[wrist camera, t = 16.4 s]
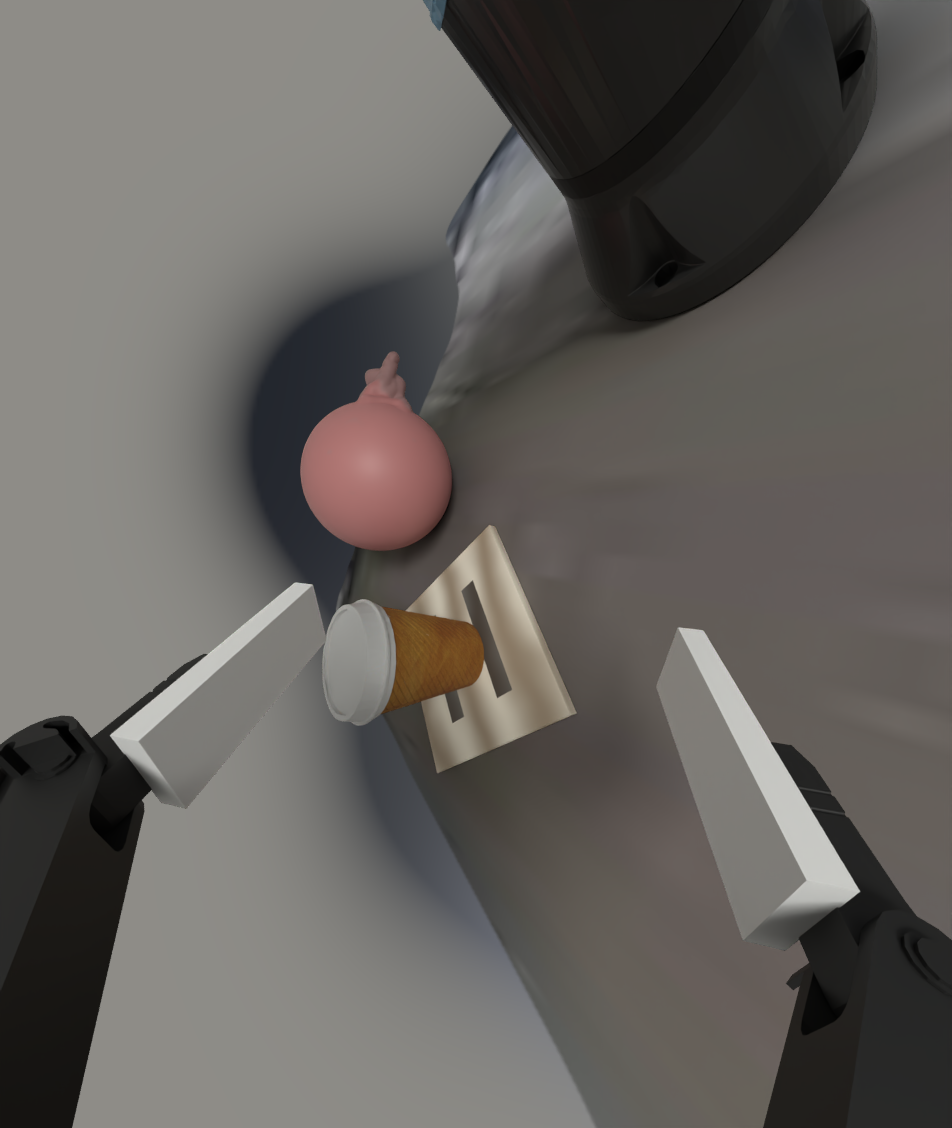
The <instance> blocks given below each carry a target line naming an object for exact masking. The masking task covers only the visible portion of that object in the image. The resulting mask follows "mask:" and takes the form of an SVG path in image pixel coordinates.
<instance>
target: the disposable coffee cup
mask: <svg viewBox="0 0 952 1128" xmlns="http://www.w3.org/2000/svg"><path fill="white" fill-rule="evenodd" d="M326 639H327V640H326V641H325V644H324V650H323V662H322V668H323V669H322V670H323V686H324V693H325V698H326V702H327V705H328V707H329V710H330V712H331V713H332V715H333V716H334V718H336V719H337V720H339V721H345V722H351V723H352V724H355V725H357V726H358V725H365V724H367V723H369V722H370V721H371V720H372V719H374V718H376V717H378V716H379V715H380V714H383V713H387V712H389V711H393V710H396V709H399V708H402V707H404V706H405V707H406V706H408V705H411V704H415V703H417V702H421V701H424V700H427V699H431V698H433V697H437V696H440V695H443V694H446V693H449V692H453V691H455V690H459V689H461V688H465V687H469V686H471V685H473V684H474V683H475V682H476V681H477V679H478V678H479V676H480V674H481V672H482V668H483V664H484V648H483V643H482V640H481V637H480V635H479V633H478V631H477V629H476V628H475V627H474V626H473V625H472V624H470V623H468V622H465V621H458V620H453V619H447V618H442V617H436V616H431V615H425V614H420V613H414V612H408V611H403V610H397V609H392V608H386V607H381V606H379V605H377V604H376V603H373V602H371V601H370V600H366V599H361V600H358V601H356V602H355V603H353V604H348V605H343V606H342V607H340V608H339V609H338V610H337V612H336V613H335V615H334V616H333V618H332V620H331V623H330V625H329V627H328V631H327V635H326Z"/></svg>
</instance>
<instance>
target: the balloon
mask: <svg viewBox="0 0 952 1128" xmlns="http://www.w3.org/2000/svg"><path fill="white" fill-rule="evenodd" d="M398 362H399V356H398V354H397V353H396V352H390V353H389V354H388V355H387V357H386V358H385V360H384V362H383V364H382V367H381V368H380V369H370V370H368V371H367V372H366V374H365V380H366V383H367V386H366V388H365V389H364V391H363V392H362V393H361V394H360V396H359V399H358V400H357V401H356V402H354V403H350V404H347V405H345V406H342V407H340V408H338V409H336V410H334V411H333V412H331V413H330V414H328V415H327V416H326V417H325V418H323V419H322V420H321V421H320V422H319V423H318V424H317V426H316V427H315V428H314V430H313V431H312V433H311V435H310V436H309V438H308V440H307V442H306V444H305V447H304V451H303V454H302V459H301V482H302V488H303V491H304V494H305V497H306V500H307V502H308V504H309V506H310V508H311V510H312V511H313V513H314V515H315V516H316V517H317V519H318V520H319V521H320V523H322V525H323V526H324V527H325V528H326V529H327V530H328V531H330V532H331V533H332V534H333V535H335V536H336V537H338V538H339V539H341V540H343V541H345V542H346V543H349V544H351V545H353V546H356V547H359V548H363V549H368V550H376V551H386V550H394V549H399V548H403V547H406V546H408V545H411V544H413V543H415V542H417V541H418V540H420V539H422V538H423V537H424V536H426V535H427V534H428V533H429V532H430V531H431V530H432V529H433V528H434V527H435V526H436V525H437V524H438V522H439V521H440V519H441V518H442V516H443V514H444V512H445V510H446V508H447V506H448V503H449V499H450V495H451V489H452V471H451V465H450V461H449V457H448V454H447V452H446V449H445V447H444V445H443V443H442V441H441V440H440V438H439V437H438V435H437V434H436V433H435V431H434V430H433V429H432V428H431V427H430V426H429V424H428V423H426V422H425V421H424V420H423V419H422V418H421V417H419V416H418V415H416V414H415V413H413V411H412V408H411V406H410V404H409V403H408V401H407V400H406V399H405V389H406V384H405V381H404V380H403V379H402V378H401V377H400V376H398V375H397V374H396V371H397V368H398Z"/></svg>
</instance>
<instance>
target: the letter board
mask: <svg viewBox="0 0 952 1128" xmlns="http://www.w3.org/2000/svg"><path fill="white" fill-rule="evenodd" d="M406 611H408V612H414V613H420V614H425V615H431V616H436V617H442V618H447V619H453V620H458V621H465V622H468V623H470V624H472V625H473V626H474V627H475V628H476V629H477V631H478V633H479V635H480V637H481V640H482V643H483V648H484V664H483V668H482V672H481V674H480V676H479V678H478V679H477V681H476V682H475V683H474V684H473V685H471V686H469V687H465V688H461V689H459V690H455V691H453V692H449V693H446V694H443V695H440V696H437V697H433V698H431V699H427V700H424V701H421V704H422V708H423V713H424V717H425V721H426V726H427V730H428V735H429V739H430V744H431V748H432V752H433V757H434V761H435V766H436V770H437V773H439V772H442V771H445V770H447V769H449V768H452V767H454V766H456V765H459V764H461V763H463V762H466V761H468V760H470V759H473V758H475V757H477V756H479V755H482V754H484V753H486V752H489V751H491V750H493V749H496V748H498V747H500V746H503V745H505V744H507V743H509V742H512V741H514V740H516V739H519V738H521V737H523V736H526V735H528V734H530V733H533V732H535V731H537V730H540V729H542V728H544V727H546V726H549V725H551V724H553V723H556V722H558V721H560V720H563V719H565V718H567V717H570V716H572V715H574V714H576V713H577V712H576V710H575V708H574V706H573V703H572V701H571V699H570V696H569V694H568V692H567V690H566V687H565V685H564V683H563V680H562V678H561V676H560V674H559V671H558V669H557V667H556V664H555V662H554V660H553V658H552V655H551V653H550V651H549V648H548V646H547V644H546V642H545V639H544V637H543V635H542V633H541V630H540V628H539V626H538V623H537V621H536V619H535V617H534V614H533V612H532V610H531V607H530V605H529V603H528V601H527V598H526V596H525V594H524V591H523V589H522V587H521V585H520V582H519V580H518V578H517V575H516V573H515V571H514V569H513V566H512V564H511V562H510V560H509V557H508V555H507V553H506V550H505V548H504V546H503V544H502V541H501V539H500V537H499V534H498V532H497V530H496V528H495V526H491V525H489V526H488V527H487V528H486V529H485V530H484V531H483V532H482V533H481V534H480V535H479V536H478V537H477V538H476V539H475V540H474V541H473V542H472V543H471V544H470V545H469V546H468V547H467V548H466V549H465V551H464V552H463V553H462V554H461V555H460V556H459V557H458V558H457V559H456V560H455V561H454V562H453V563H452V564H451V565H450V566H449V567H448V568H447V569H446V570H445V571H444V572H443V573H442V574H441V575H440V576H439V577H438V578H437V579H436V580H435V581H434V582H433V583H432V584H431V585H430V586H429V587H428V589H427V590H426V591H425V592H424V593H423V594H422V595H421V596H420V597H419V598H418V599H417V600H416V601H415V602H414V603H413V604H412V605H411V606H410V607H409V608H408V609H407V610H406Z"/></svg>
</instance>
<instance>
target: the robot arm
mask: <svg viewBox="0 0 952 1128" xmlns="http://www.w3.org/2000/svg"><path fill="white" fill-rule="evenodd" d="M423 1H424V3H425V4H426V6H427V8H428V9H429V11H430V17H431V20H432V22H433V23H434V25H435V26H436V27H437V29H438V30H439V31H440V29H441V28H442V29H443V30H444V32H445V33H446V35H447V36H448V37H449V39H450V40H451V41H452V43H453V44H454V46H455V47H456V48H457V50H458V51H459V52H460V54H461V55H462V57H463V58H464V59H465V61H466V62H467V63H468V65H469V66H470V68H471V69H472V70H473V72H474V73H475V74H476V76H477V77H478V78H479V80H480V81H481V82H482V84H483V85H484V87H485V88H486V90H487V91H488V92H489V94H490V95H491V96H492V98H493V99H494V101H495V102H496V103H497V105H498V106H499V107H500V109H501V110H502V112H503V113H504V114H505V116H506V117H507V118H508V120H509V121H510V123H511V124H512V125H513V127H514V128H515V130H516V131H517V132H518V134H519V135H520V136H521V138H522V139H523V141H524V142H525V143H526V145H527V146H528V147H529V149H530V150H531V152H532V153H533V154H534V156H535V157H536V158H537V160H538V161H539V163H540V164H541V165H542V167H543V168H544V169H545V171H546V172H547V173H548V174H549V176H550V177H551V179H552V180H553V182H554V183H555V184H556V186H557V187H558V189H559V190H560V191H561V193H562V195H563V196H564V198H565V199H566V201H567V205H568V208H569V212H570V215H571V219H572V223H573V226H574V230H575V234H576V237H577V241H578V245H579V248H580V252H581V256H582V259H583V263H584V267H585V270H586V274H587V277H588V280H589V282H590V284H591V285H592V287H593V289H594V290H595V292H596V293H597V294H598V296H599V297H600V298H601V299H602V301H603V302H604V303H605V304H606V305H607V307H608V308H609V309H610V310H611V311H613V312H614V313H615V314H617V315H619V316H621V317H623V318H627V319H631V320H654V319H660V318H664V317H668V316H672V315H675V314H678V313H681V312H683V311H686V310H688V309H691V308H693V307H695V306H697V305H699V304H701V303H703V302H705V301H707V300H709V299H711V298H712V297H714V296H716V295H718V294H719V293H721V292H723V291H724V290H726V289H727V288H729V287H730V286H732V285H733V284H735V283H736V282H738V281H739V280H740V279H742V278H743V277H745V276H746V275H747V274H749V273H750V272H751V271H752V270H754V269H755V268H756V267H758V266H759V265H760V264H761V263H762V262H764V261H765V260H766V259H767V258H768V257H769V256H771V255H772V254H773V253H774V252H775V251H776V250H777V249H778V248H779V247H780V246H781V245H782V244H784V243H785V242H786V241H787V240H788V239H789V238H790V237H791V236H792V235H793V234H794V233H795V232H796V230H797V229H798V228H799V227H800V226H801V225H802V224H803V223H804V222H805V221H806V220H807V219H808V217H809V216H810V215H811V214H812V213H813V212H814V210H815V209H816V208H817V207H818V206H819V204H820V203H821V202H822V201H823V199H824V198H825V197H826V195H827V194H828V193H829V191H830V190H831V189H832V187H833V186H834V184H835V183H836V181H837V180H838V179H839V177H840V176H841V174H842V172H843V171H844V169H845V168H846V166H847V165H848V163H849V161H850V159H851V158H852V156H853V154H854V152H855V150H856V149H857V146H858V144H859V142H860V140H861V138H862V136H863V134H864V131H865V129H866V127H867V124H868V121H869V118H870V115H871V112H872V109H873V105H874V101H875V95H876V86H877V34H876V27H875V23H874V19H873V15H872V12H871V10H870V8H869V6H868V4H867V2H866V1H865V0H423ZM326 640H327V639H326V635H325V632H324V627H323V623H322V620H321V615H320V611H319V607H318V603H317V599H316V595H315V591H314V587H313V585H310V584H303V583H294V584H293V585H291V586H290V587H289V588H288V589H287V590H285V591H284V592H283V593H282V594H281V595H279V596H278V597H277V598H276V599H274V600H273V601H272V602H271V603H270V604H268V605H267V606H266V607H265V608H264V609H262V610H261V611H260V612H259V613H258V614H256V615H255V616H254V617H253V618H251V619H250V620H249V621H248V622H247V623H245V624H244V625H243V626H242V627H240V628H239V629H238V630H237V631H236V632H234V633H233V634H232V635H231V636H230V637H229V638H227V639H226V640H225V641H223V642H222V643H221V644H220V645H219V646H217V647H216V648H215V649H214V650H213V651H211V652H210V653H209V654H203V655H201V656H199V657H197V658H195V659H193V660H192V661H190V662H188V663H186V664H184V665H183V666H182V667H180V668H179V669H178V670H177V671H175V672H174V673H173V674H171V675H170V676H169V677H168V678H167V680H166V681H163V682H161V683H160V684H159V685H158V686H156V687H155V688H154V689H153V692H149V693H148V694H147V695H145V696H144V697H143V698H141V699H140V700H139V701H138V702H136V703H135V704H134V705H133V706H131V708H129V709H128V710H126V711H125V712H124V713H123V714H121V715H120V716H119V717H118V718H116V719H115V720H114V721H113V722H111V723H110V724H109V725H108V726H107V727H105V728H104V729H103V730H101V731H100V732H99V733H98V734H96V735H95V736H94V737H92V738H91V737H90V736H89V735H88V733H87V732H86V731H85V730H84V728H83V727H82V726H81V725H80V724H79V722H78V721H77V720H76V719H74V717H72V716H59V717H53V718H49V719H46V720H43V721H40V722H38V723H35V724H33V725H30V726H29V727H27V728H25V729H23V730H21V731H19V732H18V733H16V734H14V735H13V736H11V737H10V738H9V739H7V740H6V741H5V742H3V743H2V744H0V1128H72V1126H73V1121H74V1117H75V1112H76V1108H77V1103H78V1099H79V1095H80V1091H81V1086H82V1082H83V1077H84V1073H85V1069H86V1064H87V1060H88V1055H89V1051H90V1047H91V1042H92V1038H93V1033H94V1029H95V1025H96V1020H97V1016H98V1012H99V1007H100V1003H101V999H102V994H103V990H104V985H105V981H106V977H107V972H108V968H109V963H110V959H111V955H112V950H113V946H114V942H115V937H116V933H117V928H118V924H119V919H120V915H121V910H122V906H123V902H124V898H125V893H126V889H127V885H128V880H129V876H130V871H131V867H132V863H133V858H134V854H135V850H136V845H137V841H138V836H139V832H140V828H141V823H142V819H143V815H144V803H143V802H142V799H143V798H144V797H145V796H146V795H147V794H148V793H149V792H150V791H151V790H152V791H153V793H154V794H155V795H156V797H157V798H158V799H159V801H160V802H161V803H164V804H169V805H173V806H177V807H181V808H185V809H186V808H187V807H188V806H189V805H190V803H191V802H192V801H193V800H194V799H195V798H196V796H197V795H198V794H199V793H200V792H201V790H202V789H203V788H204V787H205V786H206V784H207V783H208V782H209V781H210V779H211V778H212V777H213V776H214V775H215V774H216V772H217V771H218V770H219V769H220V767H221V766H222V765H223V764H224V763H225V761H226V760H227V759H228V758H229V757H230V756H231V754H232V753H233V752H234V751H235V749H236V748H237V747H238V746H239V745H240V744H241V742H242V741H243V740H244V739H245V738H246V736H247V735H248V734H249V733H250V731H251V730H252V729H253V728H254V727H255V725H256V724H257V723H258V722H259V721H260V719H261V718H262V717H263V716H264V715H265V713H266V712H267V711H268V710H269V709H270V707H271V706H272V705H273V704H274V703H275V701H276V700H277V699H278V698H279V697H280V695H281V694H282V693H283V692H284V691H285V689H286V688H287V687H288V686H289V684H290V683H291V682H292V681H293V680H294V679H295V677H296V676H297V675H298V674H299V673H300V671H301V670H302V669H303V668H304V667H305V665H306V664H307V663H308V662H309V661H310V659H311V658H312V657H313V656H314V655H315V653H316V652H317V651H318V650H319V649H320V647H321V646H322V645H323V644H324V643H325V641H326ZM656 688H657V691H658V694H659V697H660V700H661V703H662V706H663V708H664V711H665V714H666V717H667V720H668V723H669V726H670V729H671V732H672V735H673V738H674V741H675V744H676V746H677V749H678V752H679V755H680V758H681V761H682V764H683V767H684V770H685V773H686V776H687V779H688V782H689V784H690V787H691V790H692V793H693V796H694V799H695V802H696V805H697V808H698V811H699V814H700V817H701V820H702V822H703V825H704V828H705V831H706V834H707V837H708V840H709V843H710V846H711V849H712V852H713V855H714V857H715V860H716V863H717V866H718V869H719V872H720V875H721V878H722V881H723V884H724V887H725V890H726V893H727V895H728V898H729V901H730V904H731V907H732V910H733V913H734V916H735V919H736V922H737V925H738V928H739V931H740V933H741V936H742V939H743V941H746V942H751V943H755V944H759V945H763V946H768V947H772V948H776V949H780V950H784V951H785V950H787V949H788V948H789V947H791V946H792V945H793V944H794V943H796V942H797V941H798V940H800V942H801V945H802V947H803V949H804V951H805V954H806V956H807V958H808V960H809V963H808V964H807V965H806V966H804V967H803V968H801V969H800V970H798V971H797V972H796V973H794V974H793V975H792V976H791V977H790V979H789V980H788V981H787V983H786V984H787V985H788V986H789V987H790V988H791V989H792V990H794V989H796V988H797V987H799V986H800V988H799V992H798V996H797V1000H796V1003H795V1007H794V1011H793V1015H792V1019H791V1023H790V1027H789V1030H788V1034H787V1038H786V1042H785V1046H784V1050H783V1053H782V1057H781V1061H780V1065H779V1069H778V1073H777V1077H776V1080H775V1084H774V1088H773V1092H772V1096H771V1100H770V1103H769V1107H768V1111H767V1115H766V1119H765V1123H764V1127H763V1128H952V940H951V939H950V938H948V937H947V936H946V935H945V934H943V933H942V932H941V931H940V930H939V929H937V928H935V927H934V926H932V925H930V924H929V923H927V922H925V921H924V920H922V919H920V918H919V917H917V916H916V915H915V913H914V912H913V911H912V909H911V908H910V907H909V906H908V904H907V903H906V902H905V900H904V899H903V897H902V896H901V894H900V893H899V891H898V890H897V888H896V887H895V886H894V884H893V883H892V881H891V880H890V878H889V877H888V875H887V874H886V872H885V871H884V869H883V868H882V866H881V865H880V863H879V862H878V860H877V859H876V857H875V856H874V854H873V853H872V851H871V850H870V848H869V847H868V846H867V844H866V843H865V841H864V840H863V838H862V837H861V835H860V834H859V832H858V831H857V829H856V828H855V826H854V825H853V823H852V822H851V820H850V819H849V818H848V817H846V816H845V811H844V810H843V808H842V807H841V805H840V804H839V803H838V801H837V800H836V798H835V797H834V796H832V795H831V791H830V789H829V788H828V786H827V785H826V783H825V782H824V780H823V779H822V777H821V776H820V774H819V773H818V771H817V770H816V768H815V767H814V766H813V765H812V764H811V763H810V762H809V761H808V760H806V759H805V758H804V757H803V756H802V755H801V754H800V753H799V752H798V751H797V750H796V749H795V748H794V747H793V746H792V745H786V744H779V743H773V742H770V741H769V739H768V737H767V736H766V734H765V732H764V731H763V729H762V727H761V726H760V724H759V722H758V721H757V719H756V717H755V716H754V714H753V712H752V711H751V709H750V707H749V706H748V704H747V702H746V701H745V699H744V697H743V696H742V694H741V692H740V691H739V689H738V687H737V686H736V684H735V682H734V681H733V679H732V677H731V676H730V674H729V672H728V671H727V669H726V667H725V666H724V664H723V662H722V661H721V659H720V657H719V656H718V654H717V652H716V651H715V649H714V647H713V646H712V644H711V642H710V641H709V639H708V637H707V636H706V634H705V632H704V631H703V630H696V629H688V628H679V627H678V629H677V631H676V634H675V637H674V640H673V642H672V645H671V648H670V650H669V653H668V656H667V659H666V661H665V664H664V667H663V669H662V672H661V675H660V678H659V680H658V683H657V686H656Z"/></svg>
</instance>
